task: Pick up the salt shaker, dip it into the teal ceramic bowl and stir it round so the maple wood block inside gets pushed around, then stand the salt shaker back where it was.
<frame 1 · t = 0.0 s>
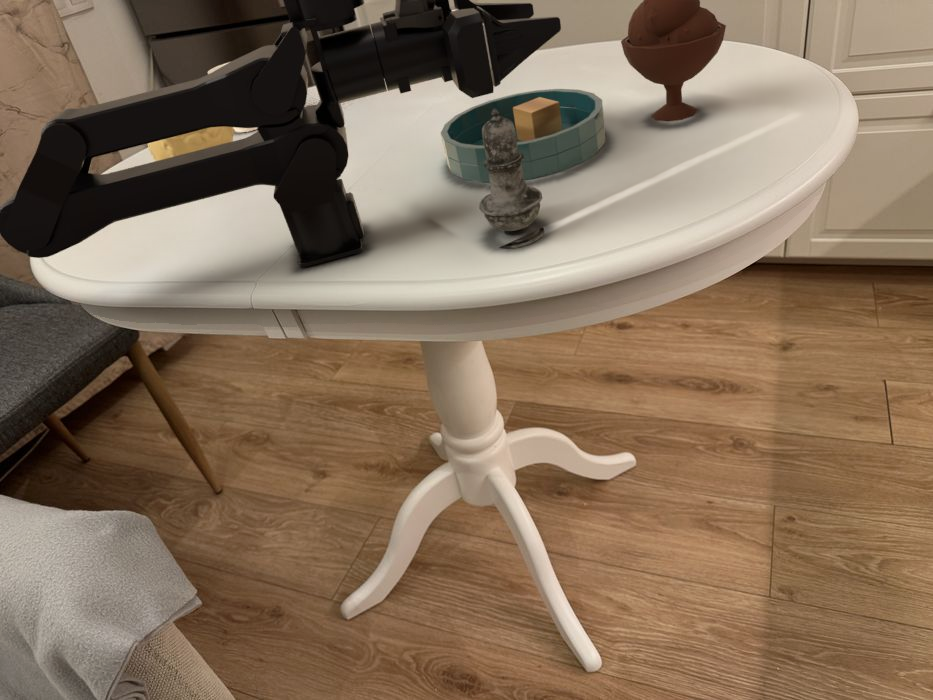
hand: (545, 15, 63), 17 cm above the table, tool horizontal, fingers open, 9 cm apart
sculpture: (204, 172, 103), on the table
salt shaker: (516, 236, 65), on the table
bowl: (526, 153, 82), on the table
ice cream bowl: (674, 119, 82), on the table
block: (540, 137, 84), point 1 cm above the table, touching bowl
white cup: (254, 126, 119), on the table
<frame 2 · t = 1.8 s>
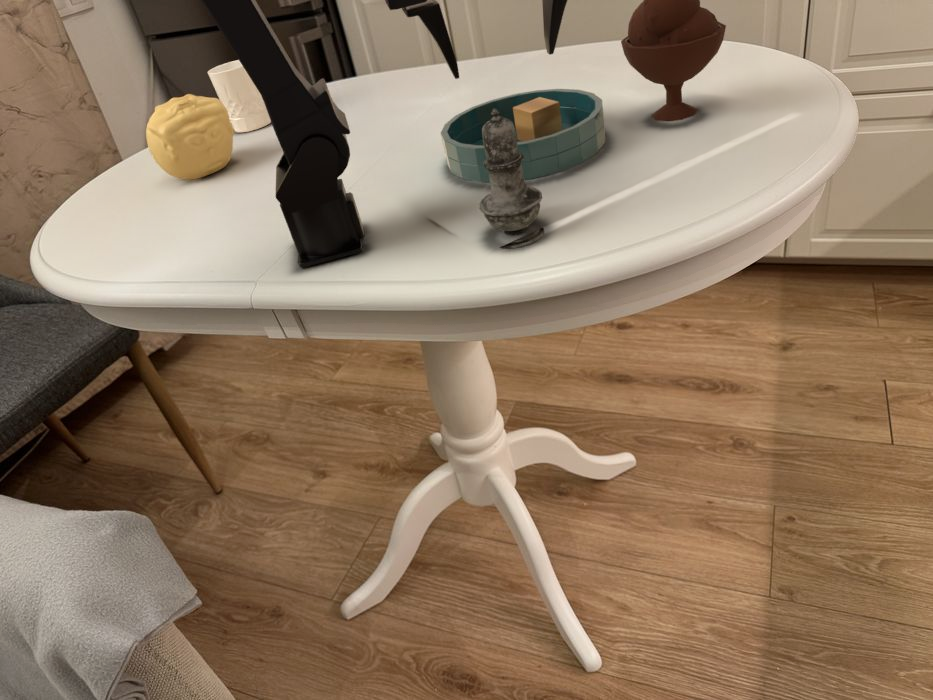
hand: (503, 65, 65), 13 cm above the table, tool pointing down, fingers open, 9 cm apart
nothing on the table moved.
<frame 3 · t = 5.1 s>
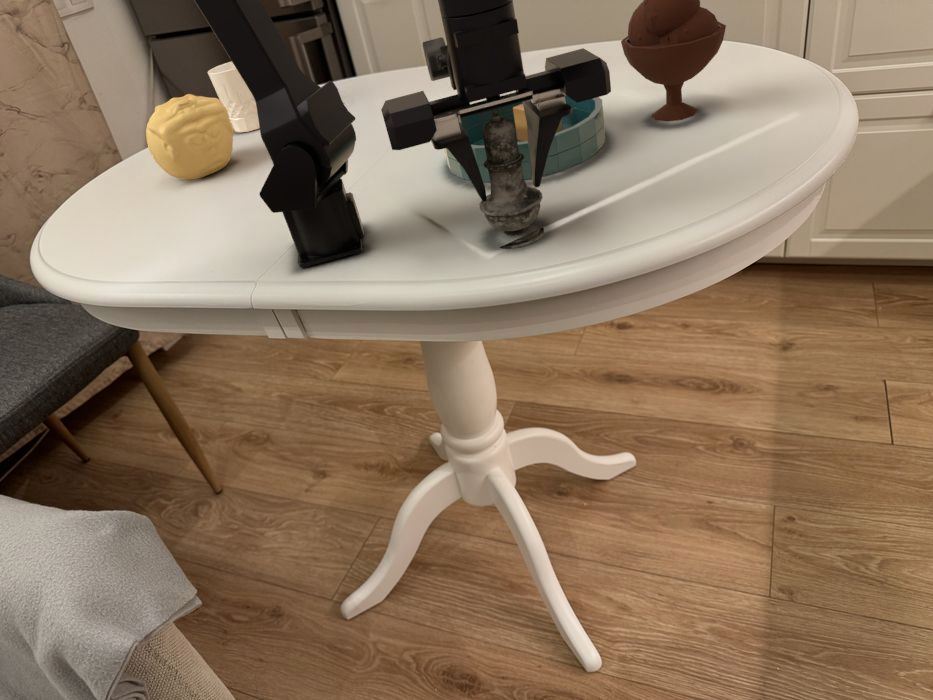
hand: (510, 192, 63), 4 cm above the table, tool pointing down, fingers closed on salt shaker, 5 cm apart
salt shaker: (516, 236, 65), on the table, touching gripper
everything else where it was.
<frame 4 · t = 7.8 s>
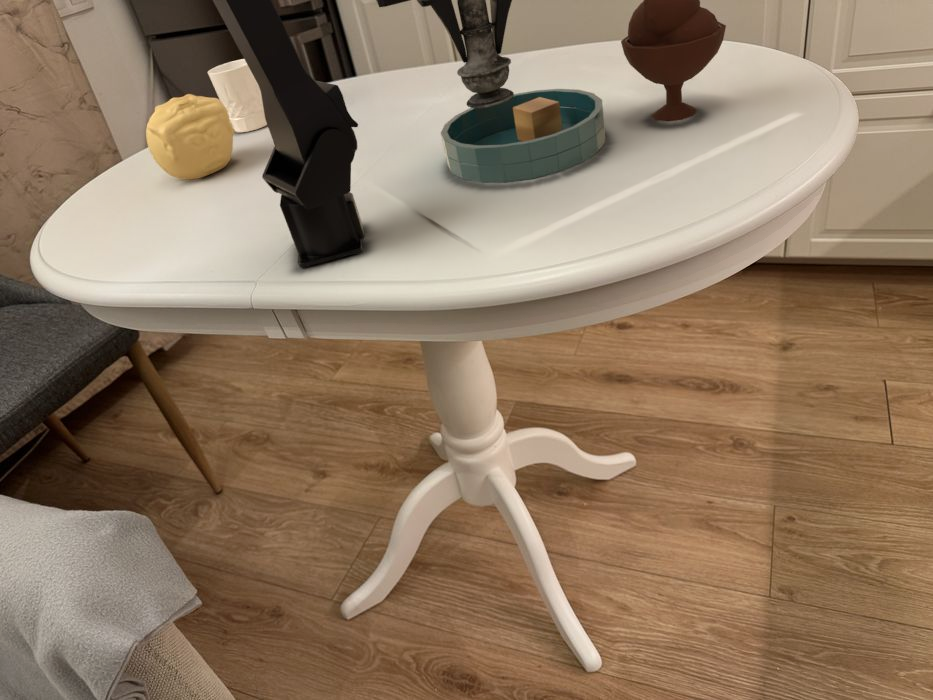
hand: (481, 57, 73), 12 cm above the table, tool pointing down, fingers closed on salt shaker, 3 cm apart
salt shaker: (490, 101, 76), point 8 cm above the table, touching gripper
everything else where it was.
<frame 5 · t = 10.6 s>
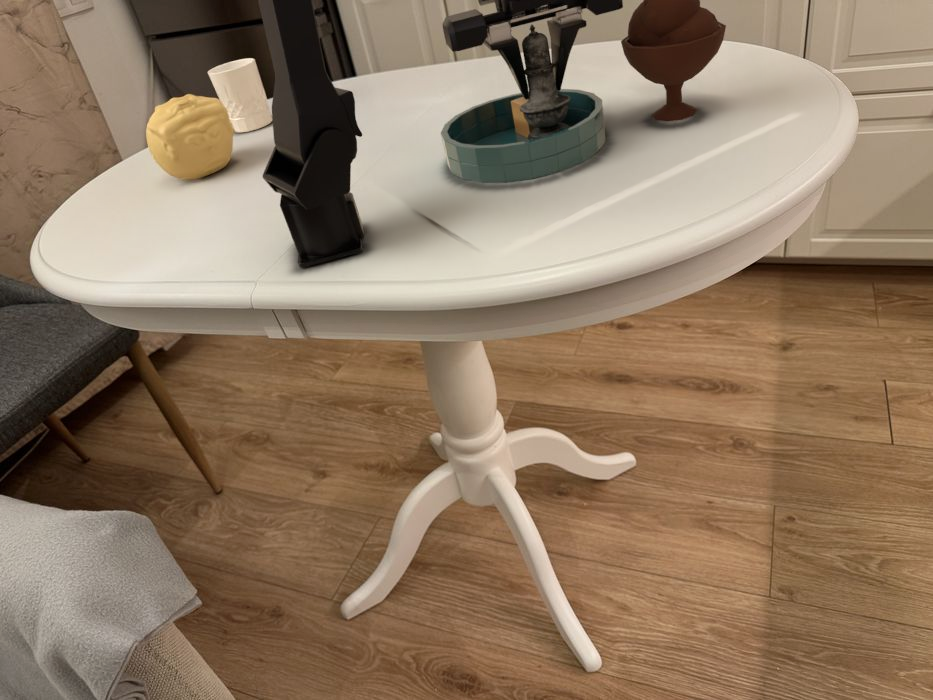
hand: (542, 94, 79), 6 cm above the table, tool pointing down, fingers closed on salt shaker, 3 cm apart
salt shaker: (550, 135, 81), point 1 cm above the table, touching block, gripper
block: (537, 131, 86), point 1 cm above the table, touching bowl, salt shaker
everything else where it was.
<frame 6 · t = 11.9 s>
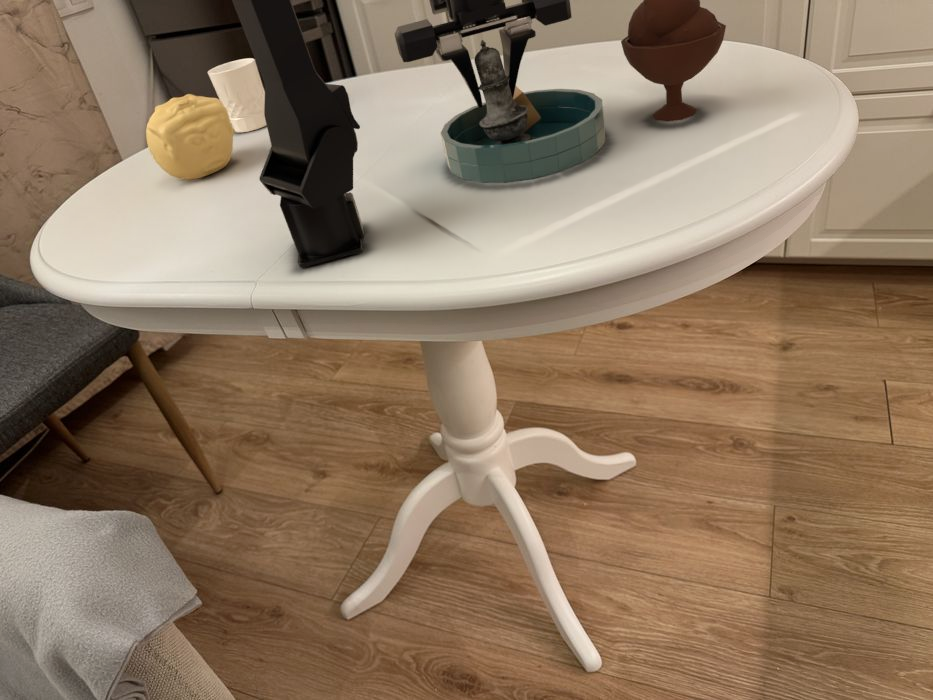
hand: (495, 102, 80), 6 cm above the table, tool pointing down, fingers closed on salt shaker, 3 cm apart
salt shaker: (512, 147, 81), point 1 cm above the table, touching gripper
block: (524, 124, 86), point 2 cm above the table, tilted 26°, touching bowl
everything else where it was.
when the fingers open (5 cm above the table, at t = 16.3 s): salt shaker stays where it is, on the table.
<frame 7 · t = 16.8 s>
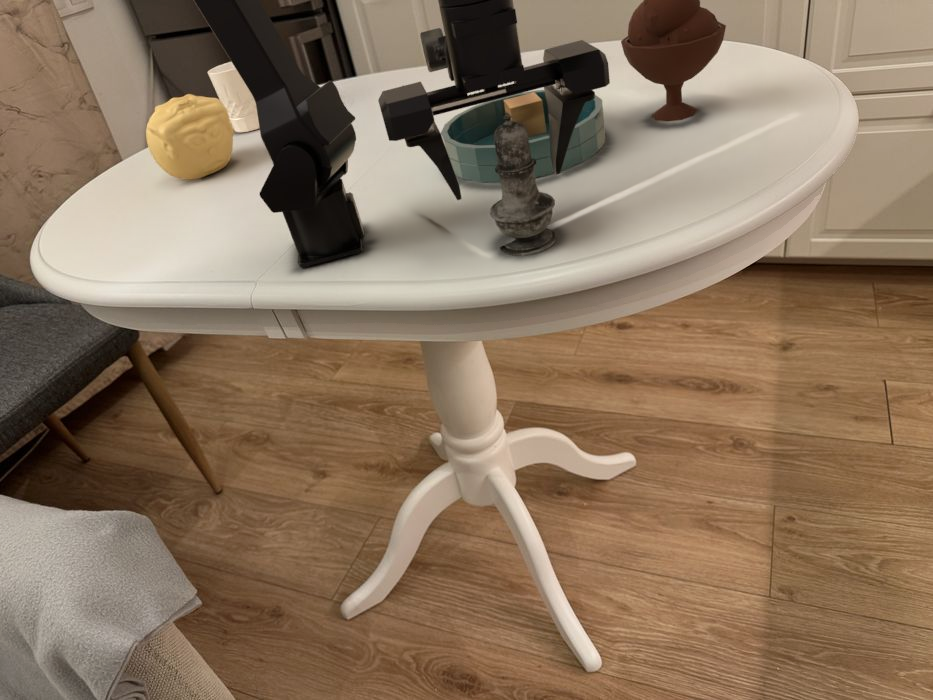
hand: (507, 185, 62), 5 cm above the table, tool pointing down, fingers open, 9 cm apart
salt shaker: (528, 243, 64), on the table
block: (527, 132, 86), point 1 cm above the table, touching bowl
everything else where it was.
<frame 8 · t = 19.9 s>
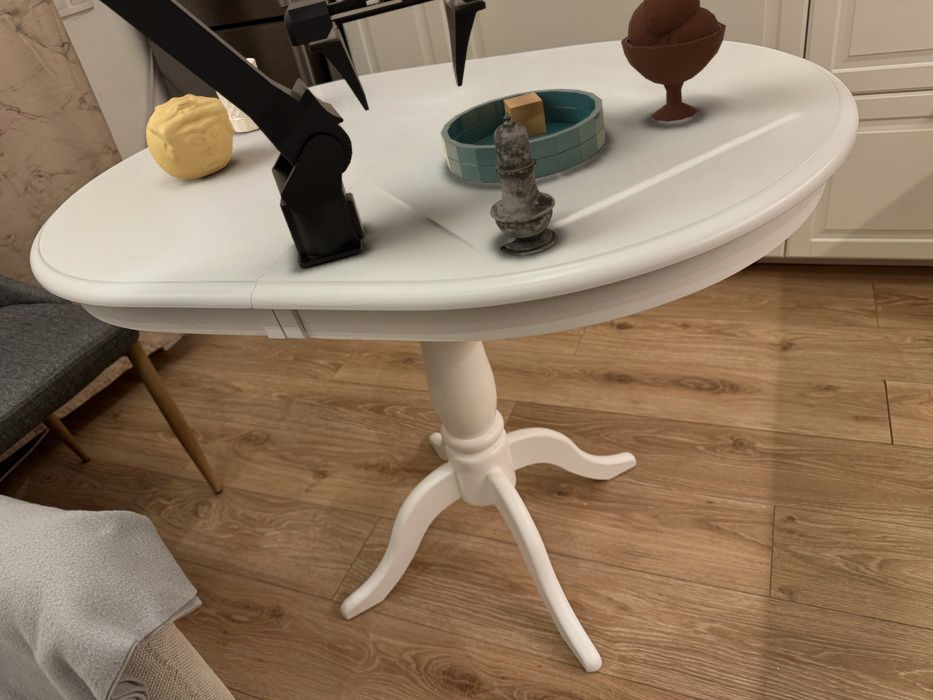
hand: (413, 97, 67), 12 cm above the table, tool pointing down, fingers open, 9 cm apart
nothing on the table moved.
at the end: block moved 3.2 cm from its start; block inside the target area in the bowl (5.9 cm from its centre), point 0.6 cm above the bowl's base; salt shaker tilted 0° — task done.
